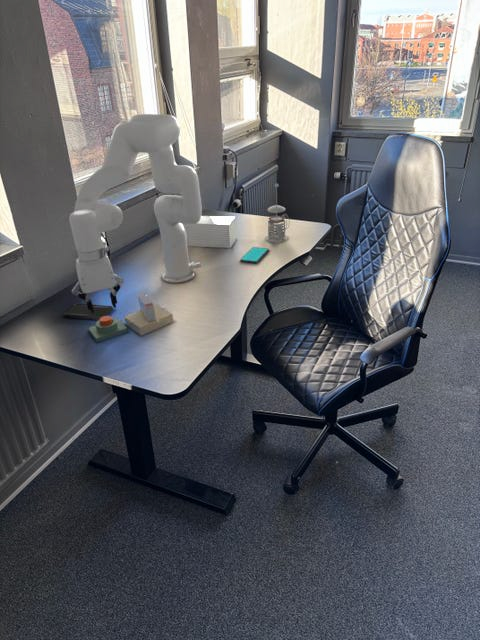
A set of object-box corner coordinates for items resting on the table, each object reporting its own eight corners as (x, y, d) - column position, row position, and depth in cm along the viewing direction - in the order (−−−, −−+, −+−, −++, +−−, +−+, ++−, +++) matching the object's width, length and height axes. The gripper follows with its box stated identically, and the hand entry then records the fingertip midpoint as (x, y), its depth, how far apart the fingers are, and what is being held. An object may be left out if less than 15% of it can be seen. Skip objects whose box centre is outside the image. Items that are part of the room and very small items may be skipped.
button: (110, 319, 147) (109, 314, 146) (113, 323, 144) (112, 319, 144) (99, 322, 145) (97, 317, 145) (102, 327, 143) (101, 322, 142)
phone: (74, 303, 162) (113, 306, 159) (75, 306, 163) (114, 309, 159) (62, 314, 155) (103, 317, 152) (63, 317, 156) (103, 320, 153)
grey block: (140, 310, 152) (137, 294, 149) (148, 308, 153) (145, 292, 150) (148, 322, 145) (145, 306, 142) (156, 320, 145) (153, 303, 143)
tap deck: (155, 309, 158) (154, 301, 157) (177, 323, 149) (176, 314, 148) (121, 323, 151) (119, 314, 149) (142, 338, 142) (140, 329, 140)
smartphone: (268, 248, 200) (256, 261, 188) (268, 250, 200) (256, 263, 188) (252, 246, 202) (239, 259, 190) (253, 248, 203) (240, 261, 191)
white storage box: (236, 239, 214) (235, 216, 208) (230, 248, 205) (228, 224, 199) (171, 236, 221) (168, 214, 216) (163, 244, 212) (160, 222, 207)
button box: (118, 321, 152) (117, 312, 150) (127, 332, 146) (126, 322, 144) (88, 331, 147) (86, 322, 145) (96, 342, 141) (94, 332, 140)
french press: (275, 233, 218) (275, 179, 206) (294, 238, 211) (295, 183, 199) (261, 239, 212) (260, 184, 200) (281, 245, 205) (281, 188, 193)
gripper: (117, 244, 139) (127, 297, 148) (58, 255, 133) (72, 310, 142) (123, 251, 133) (133, 306, 142) (62, 264, 127) (76, 321, 136)
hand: (103, 308), depth 142 cm, fingers open, 6 cm apart
